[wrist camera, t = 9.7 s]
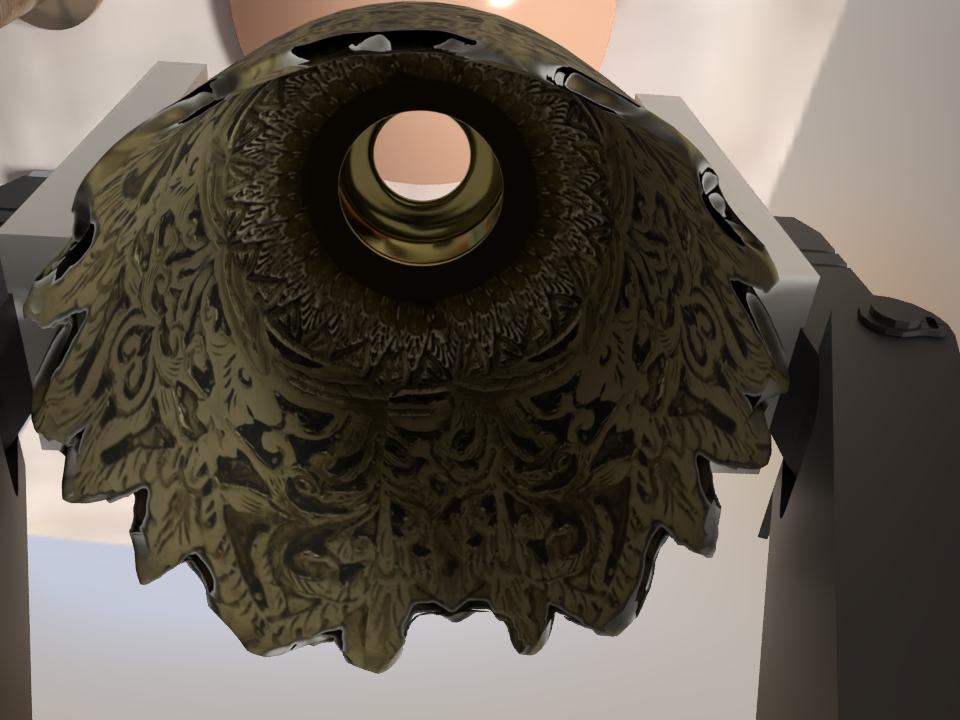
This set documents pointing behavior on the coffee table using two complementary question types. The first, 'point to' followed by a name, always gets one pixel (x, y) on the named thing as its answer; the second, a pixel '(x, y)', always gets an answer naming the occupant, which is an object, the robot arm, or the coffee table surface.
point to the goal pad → (422, 134)
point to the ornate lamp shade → (407, 339)
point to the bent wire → (48, 12)
